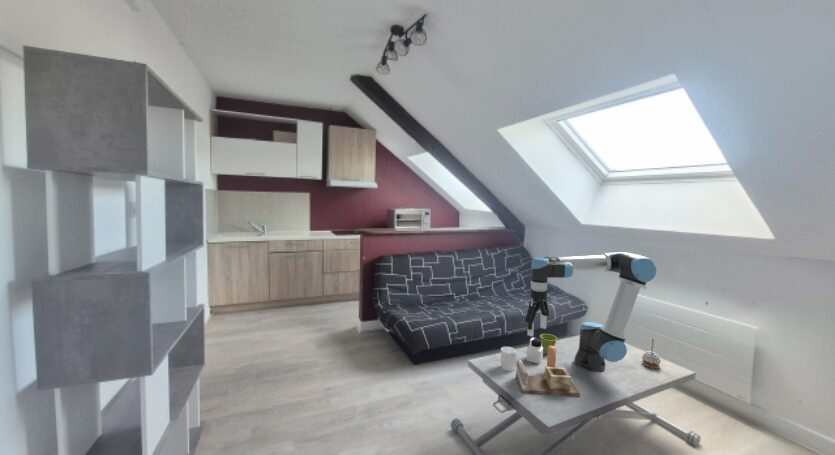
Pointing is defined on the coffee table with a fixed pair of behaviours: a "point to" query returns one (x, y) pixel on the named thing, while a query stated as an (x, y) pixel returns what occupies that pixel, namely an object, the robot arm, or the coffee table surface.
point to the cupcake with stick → (651, 358)
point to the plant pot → (547, 341)
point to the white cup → (508, 358)
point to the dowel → (551, 356)
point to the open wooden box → (557, 378)
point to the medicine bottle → (535, 351)
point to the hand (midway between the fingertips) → (536, 331)
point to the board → (539, 383)
